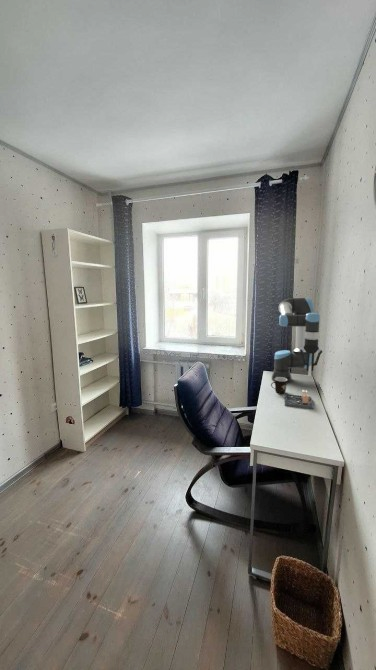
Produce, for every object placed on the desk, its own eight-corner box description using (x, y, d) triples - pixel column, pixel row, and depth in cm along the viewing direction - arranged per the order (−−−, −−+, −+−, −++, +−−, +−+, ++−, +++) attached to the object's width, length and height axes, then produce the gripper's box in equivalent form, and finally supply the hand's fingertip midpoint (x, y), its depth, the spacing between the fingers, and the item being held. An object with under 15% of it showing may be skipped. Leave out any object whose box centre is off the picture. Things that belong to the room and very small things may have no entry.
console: (285, 396, 185) (285, 392, 184) (311, 399, 179) (311, 395, 179) (284, 405, 172) (284, 401, 172) (312, 409, 167) (312, 404, 166)
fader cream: (301, 396, 179) (302, 389, 178) (306, 396, 178) (307, 389, 177) (301, 398, 176) (302, 391, 175) (306, 398, 175) (307, 391, 174)
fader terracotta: (302, 400, 173) (303, 393, 172) (307, 401, 172) (308, 394, 171) (302, 402, 170) (303, 395, 169) (307, 403, 169) (308, 396, 168)
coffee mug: (285, 390, 196) (285, 377, 194) (288, 395, 188) (288, 381, 186) (268, 390, 197) (269, 377, 195) (271, 394, 189) (271, 381, 187)
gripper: (299, 339, 164) (298, 376, 168) (323, 340, 159) (321, 378, 163) (300, 336, 171) (298, 372, 175) (323, 338, 166) (320, 375, 170)
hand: (309, 375), depth 169 cm, fingers closed
